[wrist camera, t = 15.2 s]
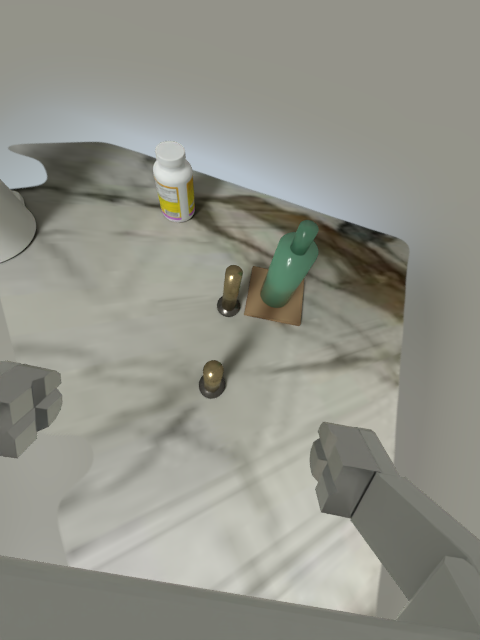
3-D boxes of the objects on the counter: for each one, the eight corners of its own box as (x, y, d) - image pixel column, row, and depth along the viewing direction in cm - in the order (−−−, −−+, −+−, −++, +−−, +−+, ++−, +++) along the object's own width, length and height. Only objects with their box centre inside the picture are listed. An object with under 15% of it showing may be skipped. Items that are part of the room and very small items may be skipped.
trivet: (244, 314, 47) (244, 313, 46) (252, 268, 51) (253, 265, 50) (299, 326, 47) (300, 324, 46) (302, 279, 51) (304, 276, 50)
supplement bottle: (186, 195, 56) (181, 132, 44) (200, 218, 54) (198, 158, 42) (156, 204, 54) (142, 141, 42) (169, 228, 52) (158, 168, 40)
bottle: (258, 304, 47) (284, 240, 31) (262, 278, 49) (289, 206, 34) (288, 310, 47) (330, 250, 32) (291, 284, 49) (331, 215, 34)
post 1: (196, 395, 40) (192, 383, 30) (202, 370, 42) (200, 350, 32) (222, 400, 41) (226, 390, 31) (226, 375, 42) (233, 357, 32)
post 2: (215, 314, 46) (217, 281, 36) (219, 294, 48) (222, 257, 38) (237, 318, 46) (245, 287, 36) (241, 299, 48) (250, 263, 38)
